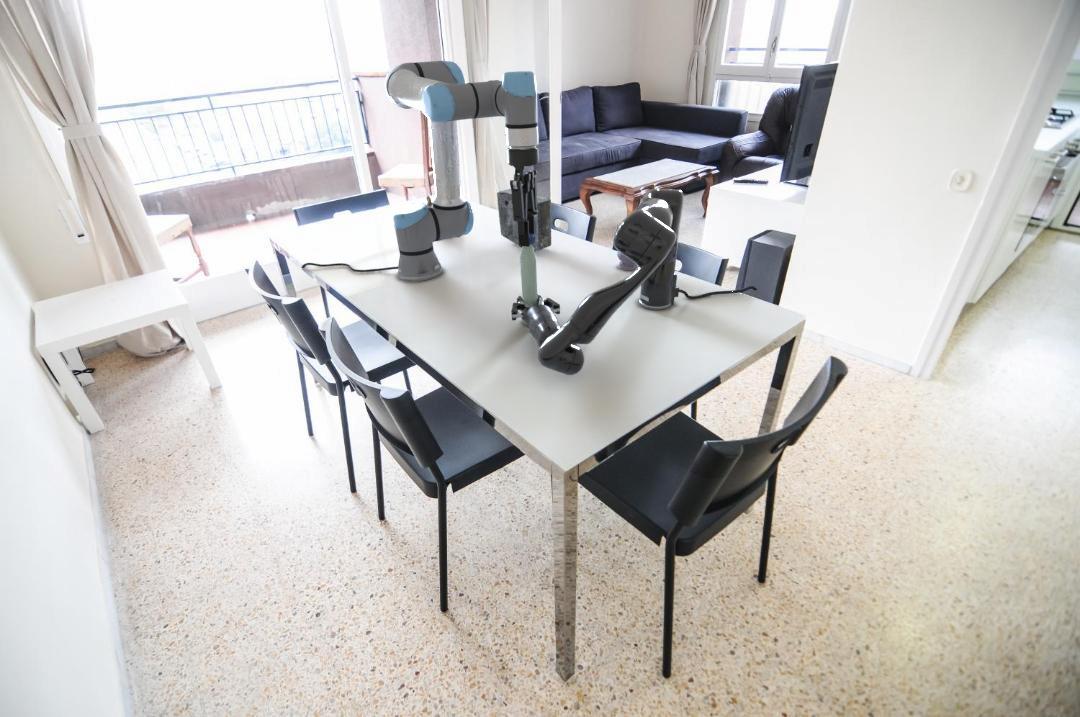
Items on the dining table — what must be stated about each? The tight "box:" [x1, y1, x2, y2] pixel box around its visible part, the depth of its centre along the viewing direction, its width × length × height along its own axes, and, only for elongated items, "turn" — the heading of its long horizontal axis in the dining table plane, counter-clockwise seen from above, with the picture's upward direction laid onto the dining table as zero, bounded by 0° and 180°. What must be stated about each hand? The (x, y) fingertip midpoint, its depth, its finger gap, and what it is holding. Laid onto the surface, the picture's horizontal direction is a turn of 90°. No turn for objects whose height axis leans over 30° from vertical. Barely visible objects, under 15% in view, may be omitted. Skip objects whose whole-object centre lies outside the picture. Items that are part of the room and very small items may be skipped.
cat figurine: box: [616, 250, 638, 271], centre depth 171 cm, size 9×8×12 cm
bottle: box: [519, 244, 538, 326], centre depth 135 cm, size 4×4×25 cm
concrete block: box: [496, 188, 552, 251], centre depth 192 cm, size 27×9×20 cm, turn 36°
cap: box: [529, 233, 535, 245], centre depth 129 cm, size 4×4×2 cm
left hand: (527, 242), depth 129 cm, fingers closed on cap, 4 cm apart
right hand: (527, 298), depth 141 cm, fingers closed on bottle, 4 cm apart
